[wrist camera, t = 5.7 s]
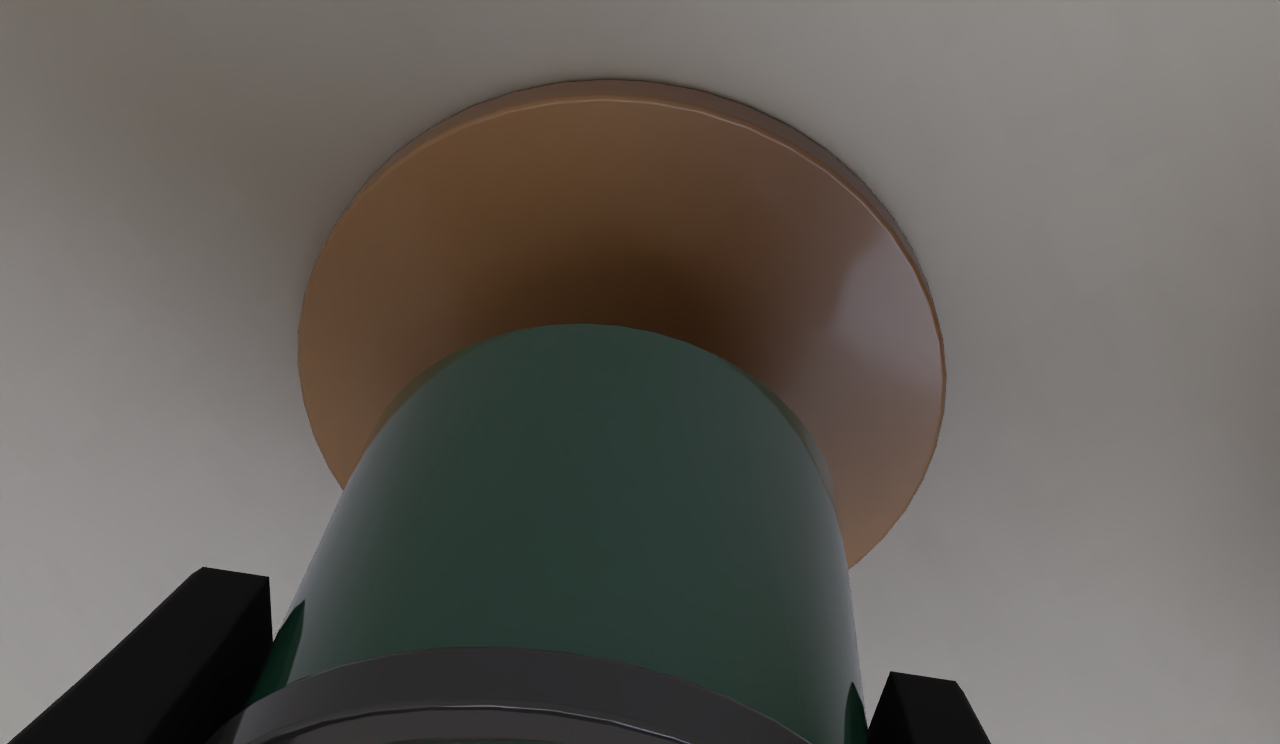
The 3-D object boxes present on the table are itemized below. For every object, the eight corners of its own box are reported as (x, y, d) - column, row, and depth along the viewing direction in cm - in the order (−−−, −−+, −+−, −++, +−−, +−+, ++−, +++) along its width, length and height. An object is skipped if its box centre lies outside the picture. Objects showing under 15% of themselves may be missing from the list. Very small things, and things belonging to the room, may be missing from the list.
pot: (294, 617, 14) (100, 1045, 9) (413, 216, 11) (204, 588, 6) (731, 754, 14) (730, 1204, 10) (959, 419, 11) (1090, 865, 7)
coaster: (259, 505, 17) (244, 532, 16) (395, -38, 12) (381, -25, 12) (774, 673, 18) (775, 703, 17) (1068, 232, 13) (1082, 256, 13)
